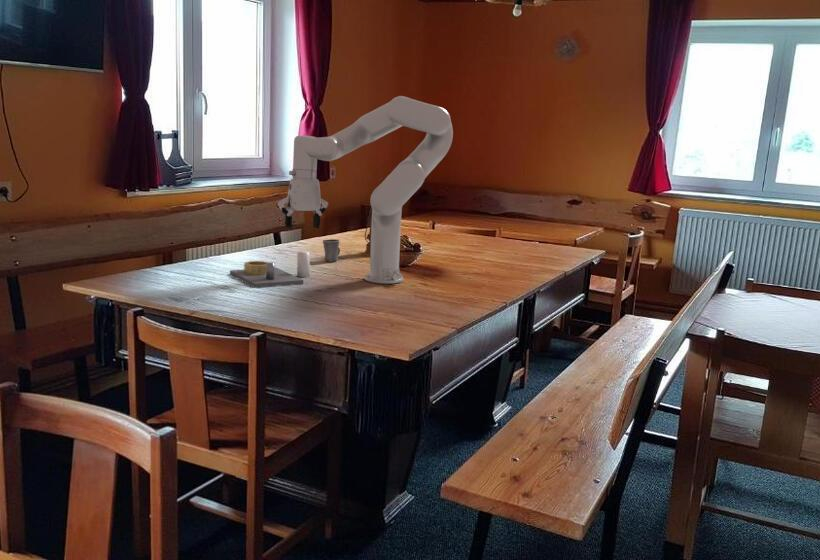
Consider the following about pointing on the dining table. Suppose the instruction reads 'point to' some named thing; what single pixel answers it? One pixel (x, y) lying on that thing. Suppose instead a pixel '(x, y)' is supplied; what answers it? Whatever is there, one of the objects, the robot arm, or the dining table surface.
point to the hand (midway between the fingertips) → (302, 227)
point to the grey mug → (331, 249)
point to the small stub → (270, 271)
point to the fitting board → (261, 280)
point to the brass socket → (255, 267)
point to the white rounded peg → (303, 263)
